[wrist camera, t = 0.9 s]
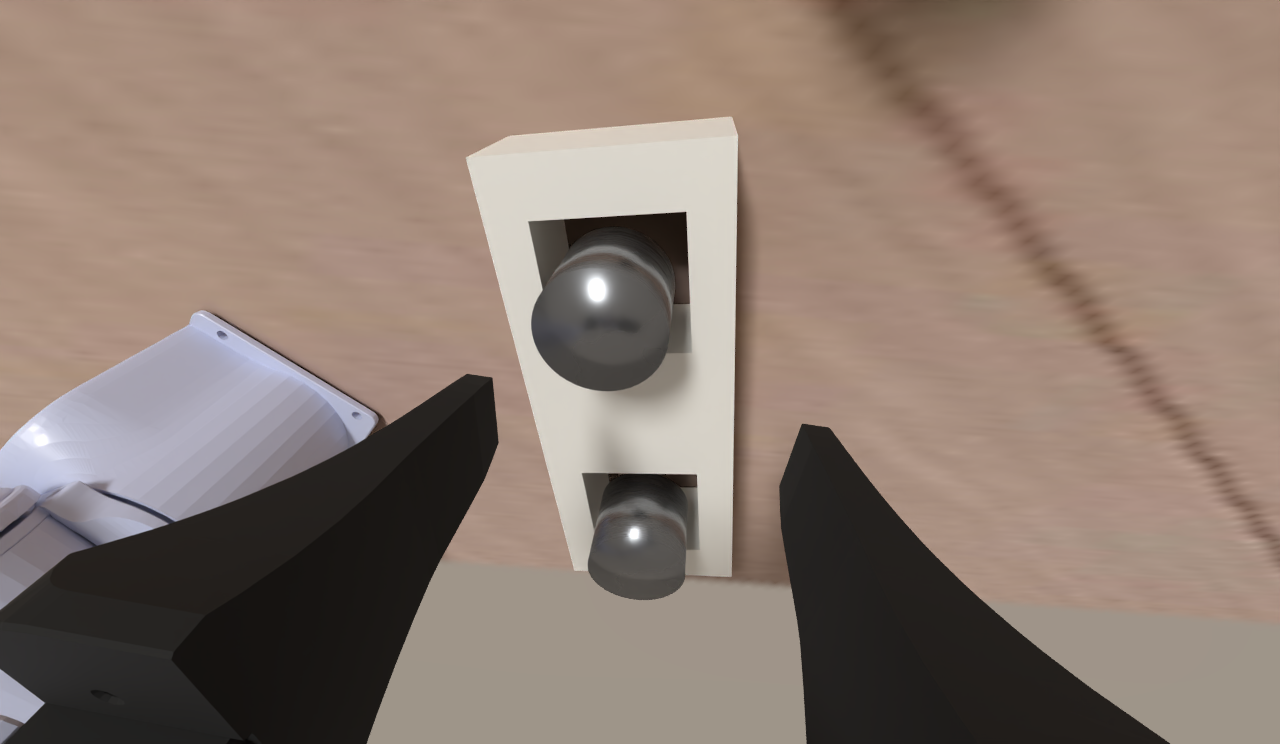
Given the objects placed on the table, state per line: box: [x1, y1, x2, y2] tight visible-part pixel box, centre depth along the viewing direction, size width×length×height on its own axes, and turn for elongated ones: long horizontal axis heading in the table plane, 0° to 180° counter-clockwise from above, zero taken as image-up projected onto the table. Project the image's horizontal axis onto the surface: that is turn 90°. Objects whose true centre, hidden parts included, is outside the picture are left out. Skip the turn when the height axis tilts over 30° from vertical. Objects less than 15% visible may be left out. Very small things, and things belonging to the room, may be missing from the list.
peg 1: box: [531, 227, 675, 391], centre depth 16 cm, size 4×4×4 cm
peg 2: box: [588, 473, 688, 600], centre depth 22 cm, size 4×4×4 cm
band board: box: [466, 117, 738, 577], centre depth 22 cm, size 20×8×4 cm, turn 5°
